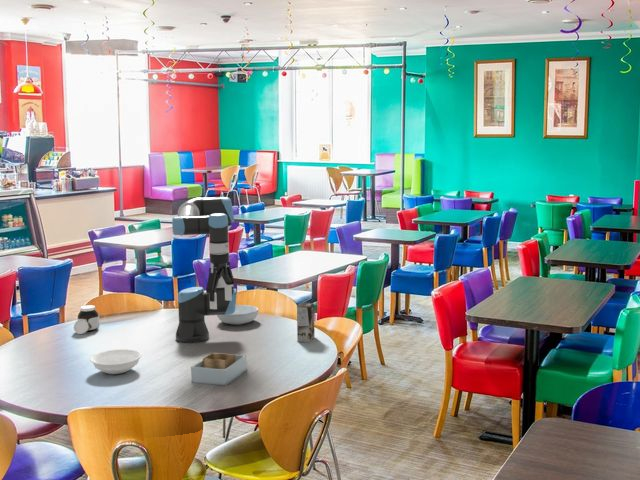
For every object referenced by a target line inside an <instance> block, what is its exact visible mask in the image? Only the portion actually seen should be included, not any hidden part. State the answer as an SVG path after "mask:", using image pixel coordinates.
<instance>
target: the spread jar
mask: <svg viewBox="0 0 640 480" xmlns="http://www.w3.org/2000/svg"><path fill="white" fill-rule="evenodd" d="M76 319H77V320H76V321H75V323H74V324H73V331H74V332H75V333H76V334H77V335H84V334H86V333H93V332H96V331H97V330H98V329H99V328H100V314H99V312H98V311H97V310H96V306H95V305H92V304H89V305H82V306H80V311H79V312H78V315H77V318H76Z"/></svg>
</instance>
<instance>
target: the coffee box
mask: <svg viewBox="0 0 640 480" xmlns="http://www.w3.org/2000/svg"><path fill="white" fill-rule="evenodd" d="M296 327H297V330H296V331H297V332H296V335H297V338H296V339H297V340H296V341H297V342H298V343H299V342H303V343H311V342H312V341H313V340H314V338H315V335H316V334H315V333H316V332H315V303H314V302H300V303H299V304H298V306H296Z"/></svg>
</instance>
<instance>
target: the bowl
mask: <svg viewBox="0 0 640 480" xmlns="http://www.w3.org/2000/svg"><path fill="white" fill-rule="evenodd" d="M141 358H142V353H141V352H140V351H138V350H132V349H113V350H106V351H103V352H98V353H95V354H94V355H92V356H91V357H90V362H91V363H92V364H93V366H94V368H95V369H97V370H99V371H101V372H103V373H105V374H108V375H119V374H123V373H127V372H128V371H130V370H131V369H133V368H134V367H135V366H137V365H138V364H139V360H140V359H141Z"/></svg>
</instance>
